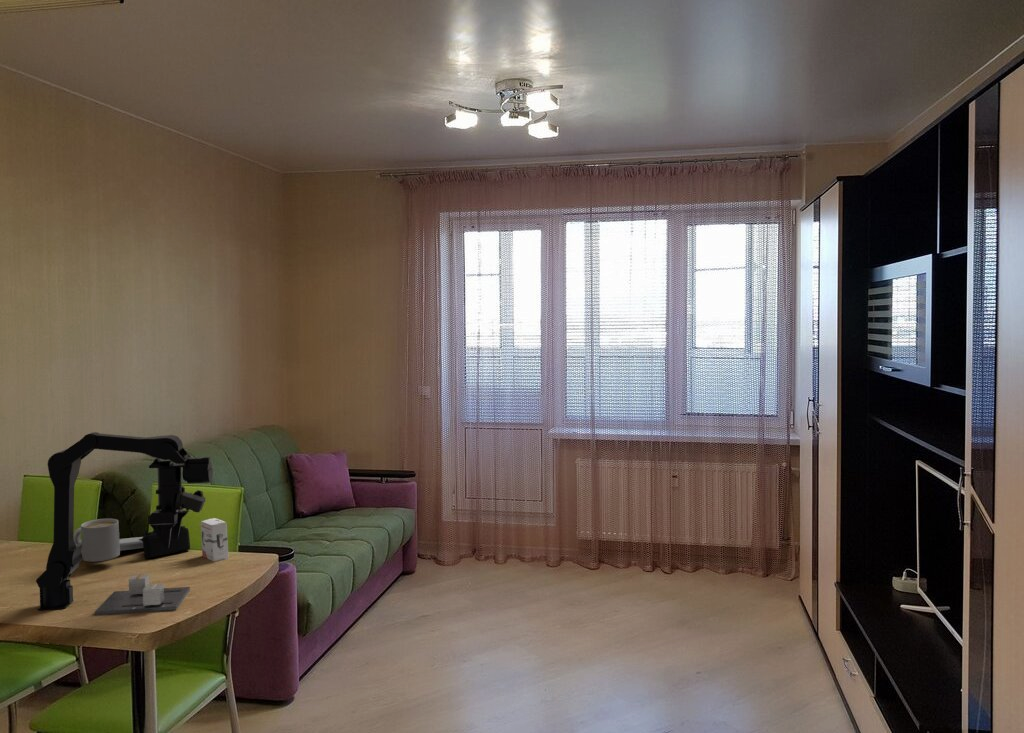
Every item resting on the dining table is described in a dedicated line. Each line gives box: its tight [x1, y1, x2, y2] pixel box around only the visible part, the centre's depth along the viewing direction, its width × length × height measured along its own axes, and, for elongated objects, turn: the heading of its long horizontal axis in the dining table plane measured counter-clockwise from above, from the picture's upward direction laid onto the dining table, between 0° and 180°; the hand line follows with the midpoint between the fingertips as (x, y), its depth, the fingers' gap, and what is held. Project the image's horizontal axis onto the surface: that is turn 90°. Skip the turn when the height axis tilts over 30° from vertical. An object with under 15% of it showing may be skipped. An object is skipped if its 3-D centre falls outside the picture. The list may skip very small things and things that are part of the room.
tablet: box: [76, 536, 144, 554], centre depth 254 cm, size 16×26×2 cm, turn 147°
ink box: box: [200, 517, 229, 562], centre depth 247 cm, size 9×5×12 cm, turn 45°
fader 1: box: [128, 573, 150, 595], centre depth 211 cm, size 4×4×4 cm
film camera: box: [139, 525, 191, 559], centre depth 252 cm, size 15×10×9 cm, turn 139°
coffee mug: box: [73, 518, 121, 562], centre depth 238 cm, size 13×10×10 cm
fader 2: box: [143, 583, 165, 606], centre depth 203 cm, size 4×4×4 cm
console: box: [94, 586, 191, 616], centre depth 207 cm, size 19×16×1 cm
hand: (171, 543), depth 209 cm, fingers open, 9 cm apart
